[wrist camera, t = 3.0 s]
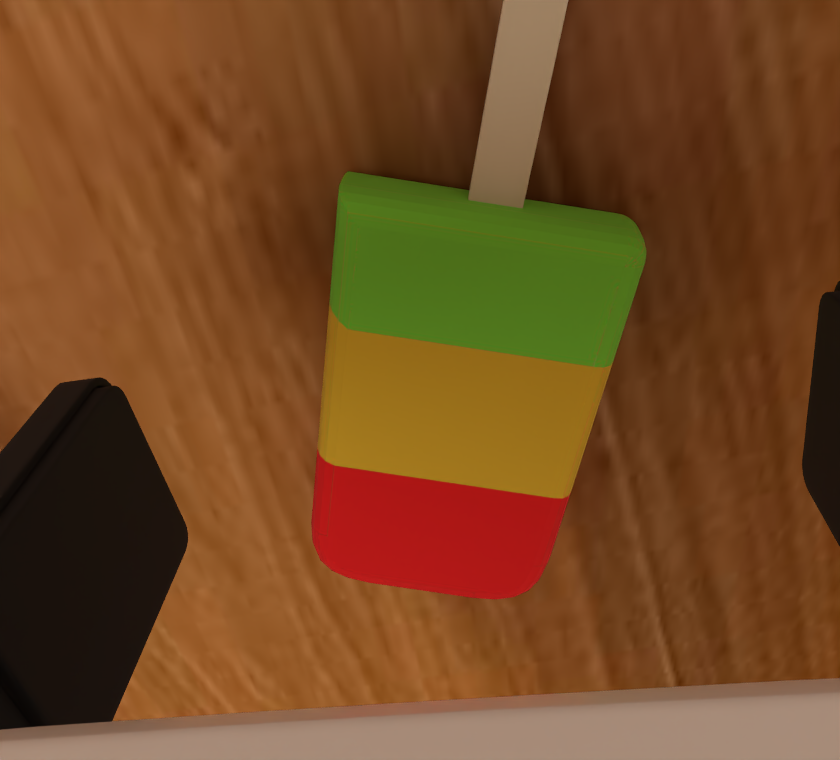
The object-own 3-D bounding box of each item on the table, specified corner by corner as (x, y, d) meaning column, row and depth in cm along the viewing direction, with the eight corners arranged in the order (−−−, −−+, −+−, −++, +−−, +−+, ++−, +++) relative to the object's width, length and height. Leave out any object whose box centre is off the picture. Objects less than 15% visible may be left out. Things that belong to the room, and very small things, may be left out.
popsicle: (317, 526, 19) (302, 583, 18) (383, -223, 11) (368, -245, 10) (532, 557, 19) (537, 616, 18) (751, -161, 11) (796, -171, 10)
